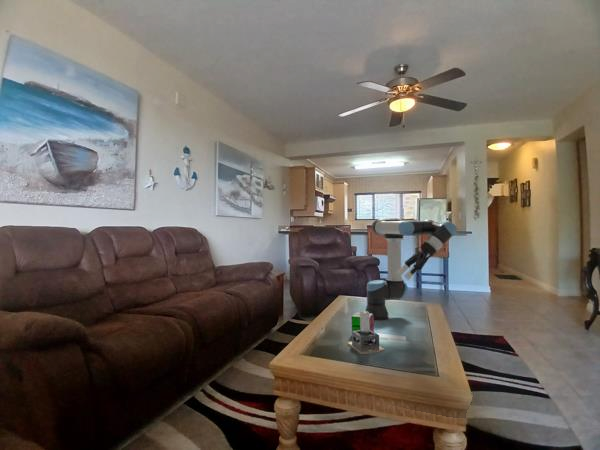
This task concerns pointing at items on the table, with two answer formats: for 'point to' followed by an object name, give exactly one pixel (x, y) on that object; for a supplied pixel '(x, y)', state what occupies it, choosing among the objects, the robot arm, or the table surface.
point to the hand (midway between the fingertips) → (402, 276)
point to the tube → (365, 324)
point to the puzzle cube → (357, 321)
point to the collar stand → (365, 348)
